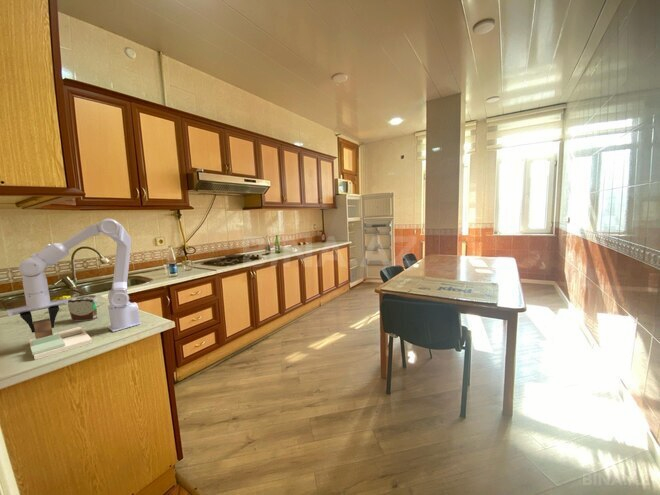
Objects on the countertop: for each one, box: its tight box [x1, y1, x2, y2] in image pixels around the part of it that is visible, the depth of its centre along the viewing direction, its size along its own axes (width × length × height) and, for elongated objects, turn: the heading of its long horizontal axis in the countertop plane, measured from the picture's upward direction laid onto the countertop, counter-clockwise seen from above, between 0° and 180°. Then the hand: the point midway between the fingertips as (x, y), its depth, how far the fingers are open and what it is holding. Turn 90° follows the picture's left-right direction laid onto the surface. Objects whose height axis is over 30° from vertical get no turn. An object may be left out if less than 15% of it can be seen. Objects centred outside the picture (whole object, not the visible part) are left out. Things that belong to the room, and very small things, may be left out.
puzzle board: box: [28, 326, 93, 361], centre depth 97 cm, size 14×20×1 cm
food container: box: [67, 294, 99, 322], centre depth 122 cm, size 12×6×10 cm, turn 92°
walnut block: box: [33, 317, 54, 339], centre depth 95 cm, size 4×4×6 cm
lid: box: [29, 334, 65, 356], centre depth 90 cm, size 8×8×3 cm
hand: (43, 329), depth 95 cm, fingers closed on walnut block, 4 cm apart
